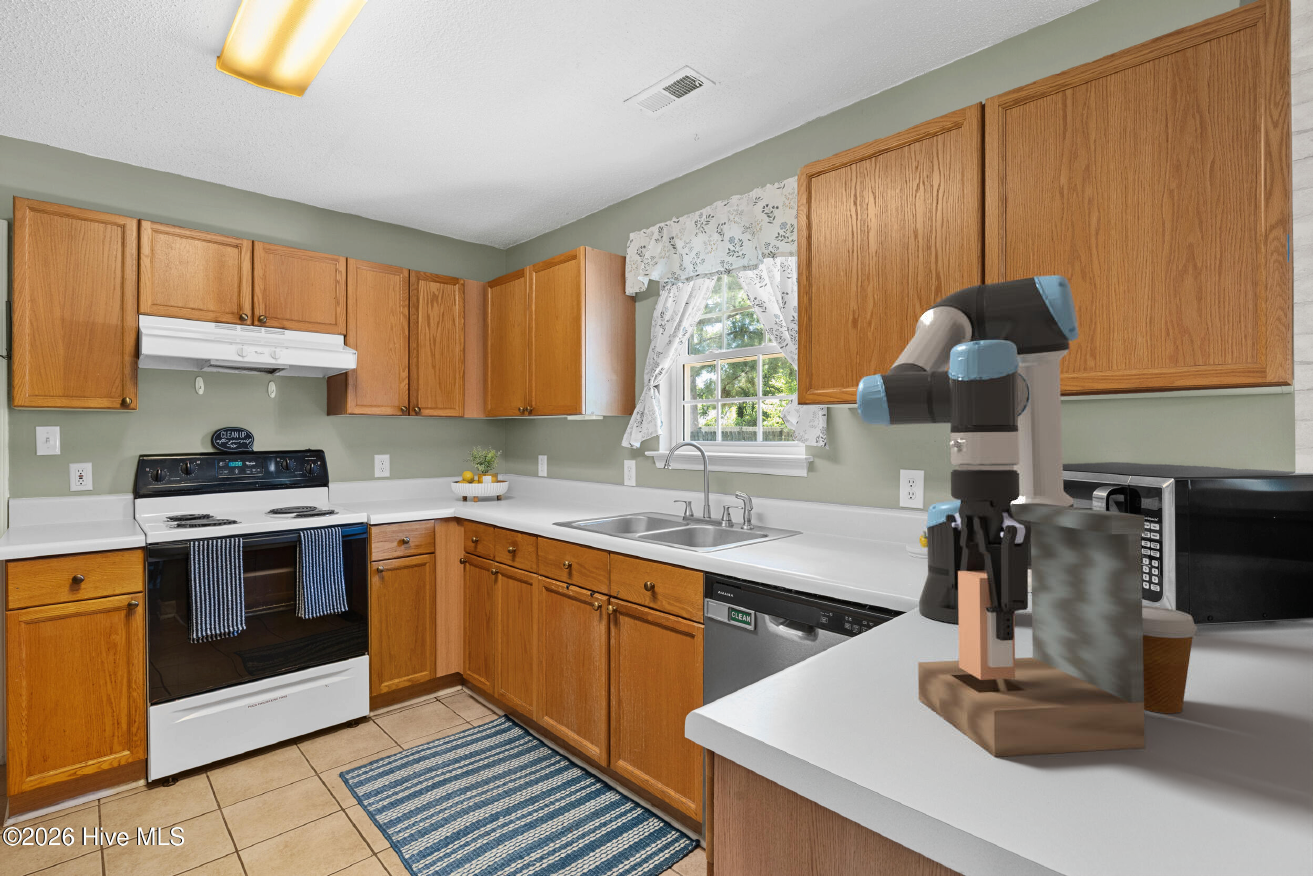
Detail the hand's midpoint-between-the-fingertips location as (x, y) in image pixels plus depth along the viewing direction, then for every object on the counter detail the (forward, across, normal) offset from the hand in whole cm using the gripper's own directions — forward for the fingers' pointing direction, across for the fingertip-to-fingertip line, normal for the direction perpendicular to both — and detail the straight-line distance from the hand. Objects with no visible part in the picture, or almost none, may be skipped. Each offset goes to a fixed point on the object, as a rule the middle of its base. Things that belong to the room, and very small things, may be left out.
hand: (986, 658), depth 79 cm
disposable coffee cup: (+8, -3, +25) cm, 26 cm away
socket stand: (+8, 0, +4) cm, 9 cm away
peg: (+2, 0, 0) cm, 2 cm away
